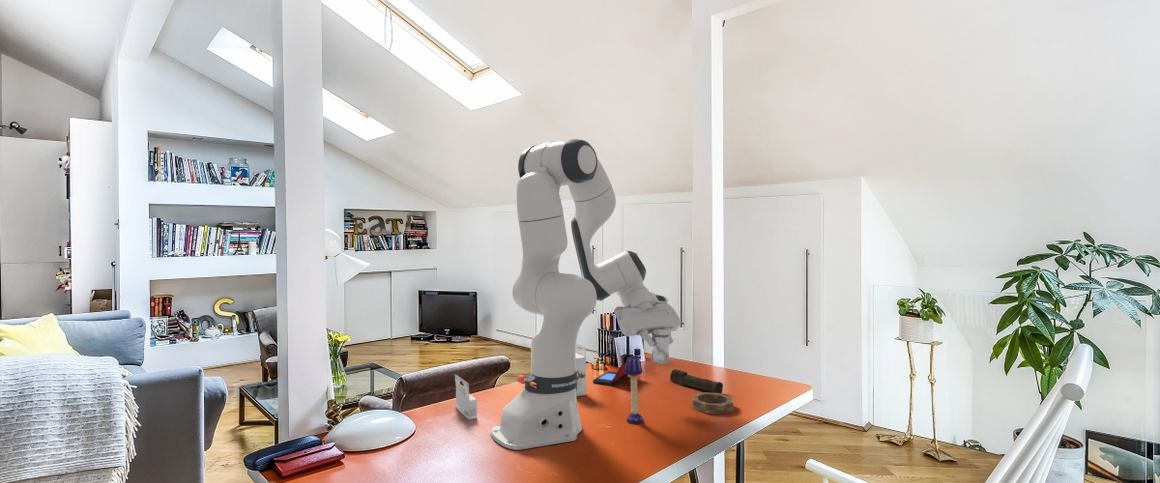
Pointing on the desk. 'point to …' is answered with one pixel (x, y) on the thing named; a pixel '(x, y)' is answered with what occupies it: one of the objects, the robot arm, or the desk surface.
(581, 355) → the ink box
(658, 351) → the cylinder
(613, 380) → the handheld game console
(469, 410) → the ink cartridge box
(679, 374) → the hand tool
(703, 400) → the walnut ring
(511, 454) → the desk surface
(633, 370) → the toy lamp
